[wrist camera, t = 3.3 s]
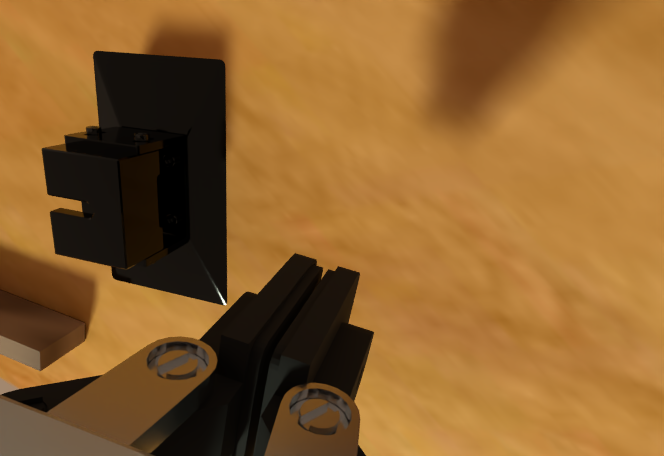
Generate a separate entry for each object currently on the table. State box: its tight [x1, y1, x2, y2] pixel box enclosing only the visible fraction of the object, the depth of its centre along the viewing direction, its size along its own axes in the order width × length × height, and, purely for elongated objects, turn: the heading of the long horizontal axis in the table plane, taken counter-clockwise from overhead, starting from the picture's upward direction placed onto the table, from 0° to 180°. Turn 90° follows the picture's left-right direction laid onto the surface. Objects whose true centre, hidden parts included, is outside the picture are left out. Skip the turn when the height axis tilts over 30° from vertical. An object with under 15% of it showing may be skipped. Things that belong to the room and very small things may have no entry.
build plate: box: [42, 51, 227, 305], centre depth 18 cm, size 12×7×5 cm, turn 176°
